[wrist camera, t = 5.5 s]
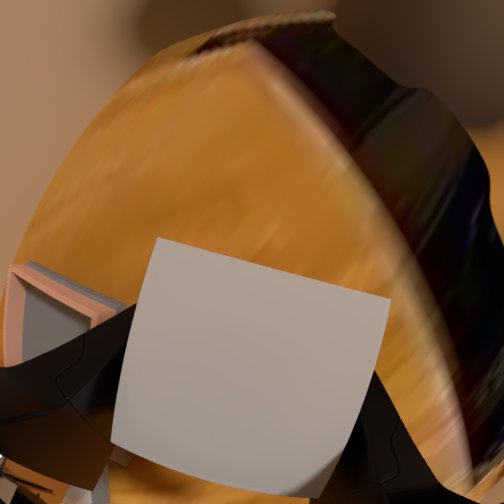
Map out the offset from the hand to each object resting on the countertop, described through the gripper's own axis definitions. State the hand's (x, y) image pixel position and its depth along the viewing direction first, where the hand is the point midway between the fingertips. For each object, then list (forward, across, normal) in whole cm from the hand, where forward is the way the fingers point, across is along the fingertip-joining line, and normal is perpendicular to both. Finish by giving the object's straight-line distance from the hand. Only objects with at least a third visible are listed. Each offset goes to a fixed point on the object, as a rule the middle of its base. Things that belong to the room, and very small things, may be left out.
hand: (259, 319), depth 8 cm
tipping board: (-3, +12, +14) cm, 18 cm away
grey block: (+4, 0, +6) cm, 7 cm away
